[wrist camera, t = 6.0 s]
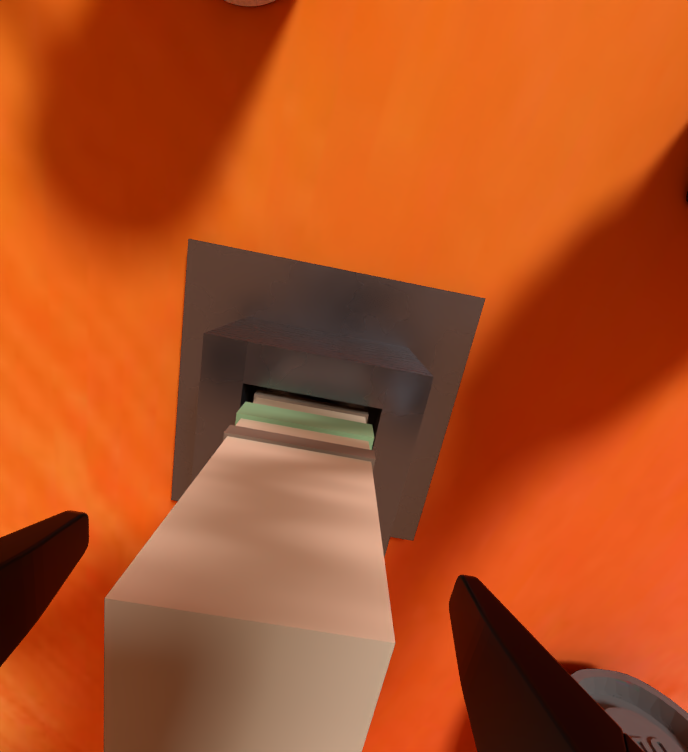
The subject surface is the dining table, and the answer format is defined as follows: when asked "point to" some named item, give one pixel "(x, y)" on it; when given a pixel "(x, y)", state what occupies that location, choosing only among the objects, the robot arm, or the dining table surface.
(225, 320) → the stand base
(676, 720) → the bluetooth speaker
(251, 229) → the dining table surface
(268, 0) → the mug
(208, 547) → the column
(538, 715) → the robot arm
